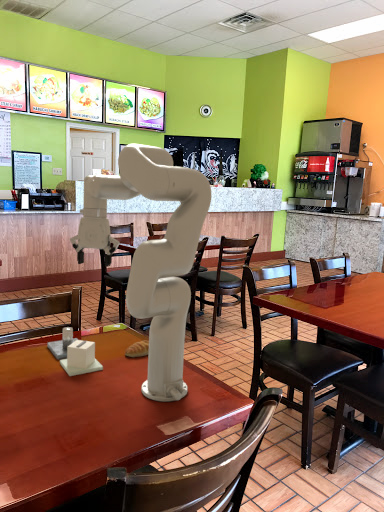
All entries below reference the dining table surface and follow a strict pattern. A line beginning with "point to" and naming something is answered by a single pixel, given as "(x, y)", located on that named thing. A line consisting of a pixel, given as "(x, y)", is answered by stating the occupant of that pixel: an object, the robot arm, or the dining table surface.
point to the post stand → (62, 344)
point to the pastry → (138, 349)
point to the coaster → (75, 370)
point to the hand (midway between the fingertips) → (94, 264)
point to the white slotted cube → (81, 354)
